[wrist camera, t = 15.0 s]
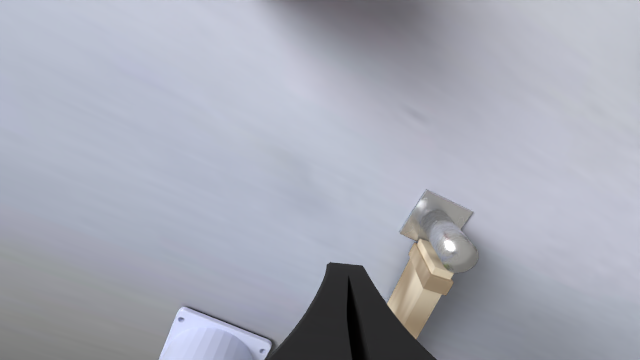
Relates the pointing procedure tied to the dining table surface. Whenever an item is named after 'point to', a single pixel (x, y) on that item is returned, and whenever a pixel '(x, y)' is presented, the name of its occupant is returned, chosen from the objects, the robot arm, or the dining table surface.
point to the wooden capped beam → (419, 287)
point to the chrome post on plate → (442, 231)
